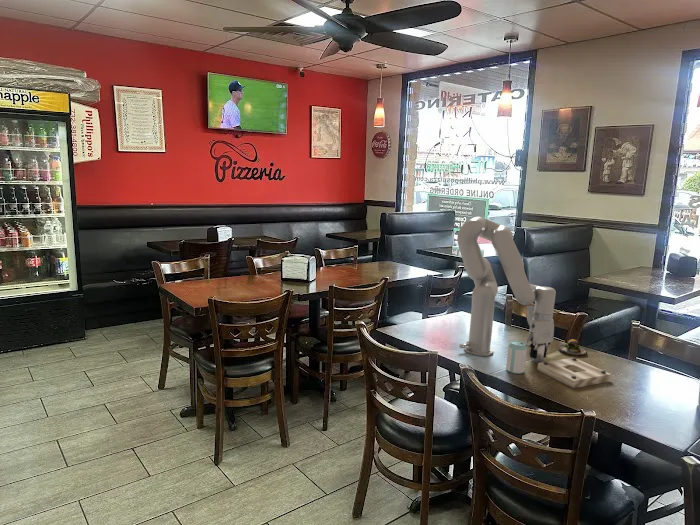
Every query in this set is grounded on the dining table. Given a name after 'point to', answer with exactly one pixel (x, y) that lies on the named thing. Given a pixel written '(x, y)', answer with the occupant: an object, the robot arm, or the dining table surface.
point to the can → (516, 357)
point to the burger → (572, 348)
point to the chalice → (530, 316)
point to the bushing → (539, 353)
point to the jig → (574, 372)
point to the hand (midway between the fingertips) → (537, 356)
